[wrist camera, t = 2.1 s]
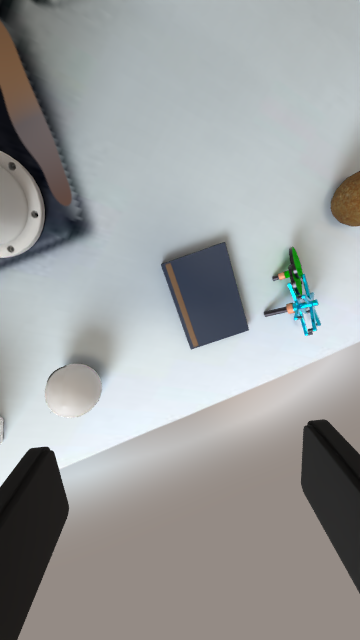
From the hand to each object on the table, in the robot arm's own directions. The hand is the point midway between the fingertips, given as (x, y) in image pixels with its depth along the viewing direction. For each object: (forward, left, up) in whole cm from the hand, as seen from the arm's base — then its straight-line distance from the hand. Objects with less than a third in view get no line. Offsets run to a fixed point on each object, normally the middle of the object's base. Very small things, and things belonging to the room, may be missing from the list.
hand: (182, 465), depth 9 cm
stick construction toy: (+3, +16, -27) cm, 32 cm away
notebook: (0, +5, -27) cm, 27 cm away
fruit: (-6, +26, -27) cm, 38 cm away
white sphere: (+6, -18, -27) cm, 33 cm away
